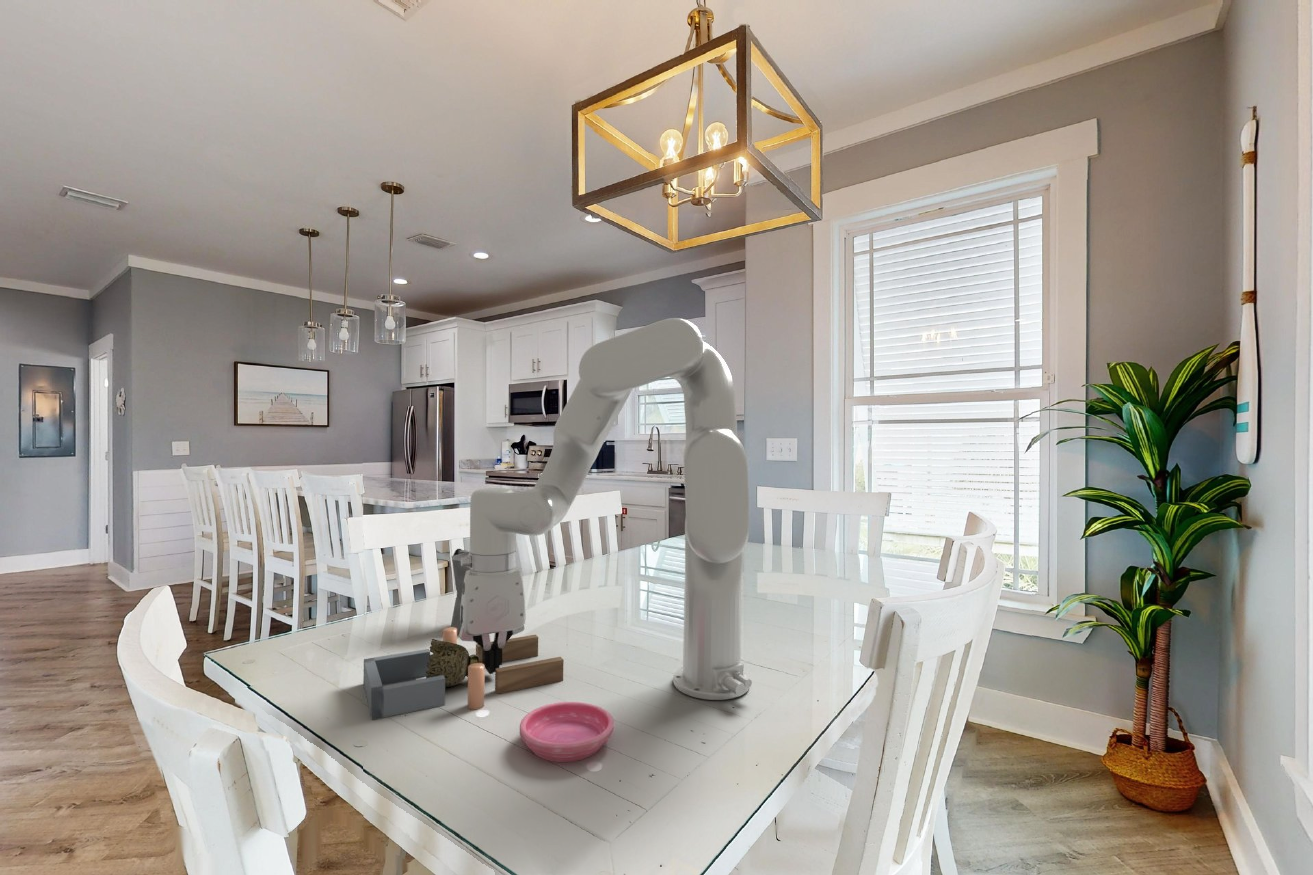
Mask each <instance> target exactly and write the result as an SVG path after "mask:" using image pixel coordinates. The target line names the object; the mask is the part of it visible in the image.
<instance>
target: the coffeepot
mask: <svg viewBox="0 0 1313 875" xmlns="http://www.w3.org/2000/svg"><path fill="white" fill-rule="evenodd" d="M469 552H470V550H469V551H468V550H465V549H462V548H456V549H455V551H454V553H453V555H452V556H451V562H452V571H453V576H454V577H453V579H454V585H455V586H454V587H455V590H456V597H455V601H454V607H453V612H452V619H451V624H450V627H455V628H457V635H459V634H460V630H461V624H460V609H461V598H462V590H463V583H464V578H465V574H466V571H468V570H470V568H469V567H466V566H461V558H466V557H468V555H469Z"/></svg>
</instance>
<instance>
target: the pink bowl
mask: <svg viewBox="0 0 1313 875" xmlns="http://www.w3.org/2000/svg"><path fill="white" fill-rule="evenodd" d="M614 727H615V726H614V717H613V716H612V715H611V713H609V711H607V710H606V709H604V708H602V707H600V706H598V705H595V704H592V703H587V702H579V701H563V702H561V701H560V702H554V703H549V704H545V705H543V706H539V707H537V708H535V709H533V710H532V711H529V712H528V713H527V714H526V715H525V716H524V717H523V718H522V719H521V721H520V723H519V735H520V739H521V740H522V741H523V743H524V744H525V745H526V746H527V747H528V748H529V749H530V750H531V751H532V752H533V754H535V756H537V757H539V758H541V759H543V760H545V761H549V762H556V763H570V762H577V761H580V760H581V761H582V760H583V759H586V758H587V759H588V758H590V757H591V756H593V755H594V754H596V753H597V752H598V751H599V750H600V749H601V747H602V746H604V744H606V742H607V741H609V739H610V737H611V736H612V734H613V732H614Z"/></svg>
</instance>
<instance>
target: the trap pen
mask: <svg viewBox="0 0 1313 875" xmlns="http://www.w3.org/2000/svg"><path fill="white" fill-rule="evenodd" d="M430 655H431V652H430V648H425V649H420V650H419V649H418V650H413V651H407V652H406V651H405V652H401V653H395V654H394V653H393V654H387V655H382V656H376V657H369V658H364V659H363V680H362V681H363V682H362V683H363V687H364V691H365V697H366V700H367V704H368V710H369V713H370V718H371V720H372V721H373V720H378V719H383V718H384V719H385V718H388V717H394V716H398V715H403V714H407V713H412V712H417V711H422V710H426V709H432V708H435V707H436V708H437V707H441V706H445V705H446V687H445V677H444V675H440V676H435V677H429V678H426V677H427V676H428V674H426V671H427V670H429V668H428V667H427V665H428V664H427V663H428V662H429V656H430ZM422 677H423V678H422ZM424 677H425V678H424ZM417 678H420V679H417Z"/></svg>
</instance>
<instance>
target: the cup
mask: <svg viewBox="0 0 1313 875" xmlns="http://www.w3.org/2000/svg"><path fill="white" fill-rule="evenodd" d="M429 650H430V653H432V654H430V656H429V662H428V663H427V664H428V665H427V667H428V668H429V670H427V671H426V674H428V676H425V678H429V677H435V676H440V675H444V677H445V688H448V687H454V686H458V685H459V684H461V683H462V682H463V681H464V680H465V679H466V677H467V678H468V666H469V665H471V664H474V663H479V658H478V656H477V655H476V653H474V654H471V655H470V654H469V651H468V649H467V648H466V647H465V646H462V645H460V644H458V643H457V644H455V643H450V642H445V641H443V640H439V639H434V638H432V639H431V640H430V646H429Z"/></svg>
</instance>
